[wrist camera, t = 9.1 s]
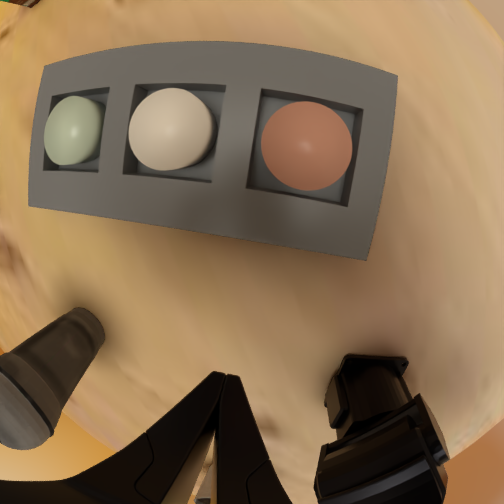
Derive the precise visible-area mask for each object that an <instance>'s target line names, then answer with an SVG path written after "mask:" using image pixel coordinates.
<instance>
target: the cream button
mask: <svg viewBox="0 0 504 504" xmlns="http://www.w3.org/2000/svg"><path fill="white" fill-rule="evenodd" d="M216 133H217V125H216V120H215V117H214V115H213V113H212V111H211V110H210V108H209V107H208V106H207V105H206V104H205V103H204V102H202V101H201V100H200V99H198V98H197V97H196V96H195V95H193V94H192V93H190V92H188V91H186V90H183V89H179V88H166V89H162V90H159V91H156V92H154V93H152V94H151V95H149V96H148V97H146V98H145V99H144V100H143V101H142V102H141V103H140V104H139V106H138V107H137V108H136V110H135V112H134V113H133V116H132V118H131V121H130V125H129V142H130V146H131V149H132V151H133V153H134V155H135V156H136V157H137V159H138V160H139V161H140V162H141V163H143V164H144V165H146V166H147V167H149V168H152V169H155V170H164V171H166V170H176V169H185V168H189V167H191V166H194V165H196V164H197V163H199V162H200V161H202V160H203V159H204V158H205V157H206V156H207V155H208V153H209V152H210V150H211V149H212V147H213V145H214V142H215V139H216Z"/></svg>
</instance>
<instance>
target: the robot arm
mask: <svg viewBox="0 0 504 504" xmlns="http://www.w3.org/2000/svg"><path fill="white" fill-rule="evenodd" d="M348 360H351V361H348ZM402 363H403V364H402ZM408 364H409V362H408V360H407V358H399V357H377V356H362V355H347V356H345V357H344V359H343V361H342V363H341V366H340V368H339V370H338V373H337V375H335V376H334V377H333V379H332V381H331V383H330V386H329V388H328V390H327V392H326V394H325V397H326V399H325V401H324V406H325V407H327V410H328V416H329V423H330V427H331V428H332V429H336V433H337V440H336V441H334V442H332V443H330V444H329V443H327V444H325V445H322V446H321V451H320V456H319V461H318V466H317V471H316V476H315V481H314V491H315V494H316V497H317V499H318V504H443V501H444V498H445V494H446V488H447V481H448V476H447V473H446V471H445V468H444V466H443V464H444V463H445V462H447V461H448V460H450V457H449V453H448V450H447V446H446V443H445V439H444V436H443V433H442V431H441V429H440V427H439V425H438V423H437V421H436V419H435V417H434V415H433V413H432V412H431V410H430V408H429V407H428V405H427V404H426V402H425V401H424V399H423V398H422V396H421V394H420V393H419V394H418V395H416V396H415V397H414V398H412V396H411V394H410V392H409V390H408V387H407V385H406V383H405V381H404V379H403V377H402V375H403V373H404V371H405V370H406V368H407V366H408ZM214 433H215V436H214ZM213 436H214V448H213V464H212V481H211V501H210V504H292V502H291V500H290V499H289V497H288V495H287V494H286V492H285V490H284V488H283V487H282V485H281V483H280V481H279V479H278V477H277V474H276V472H275V470H274V468H273V465H272V463H271V460H269V455H268V453H267V450H266V448H265V445H264V442H263V440H262V437H261V434H260V432H259V429H258V426H257V424H256V421H255V418H254V416H253V413H252V410H251V407H250V404H249V402H248V399H247V396H246V393H245V390H244V387H243V384H242V382H241V379H240V377H239V376H237V375H232V374H227V375H226V374H225V373H222V372H217V371H213V372H211V373H210V374H209V375H208V376H207V377H206V378H205V379H204V380H203V381H202V382H201V383H199V384H198V385H197V386H196V387H195V388H194V389H193V390H192V391H191V392H190V393H189V394H187V395H186V396H185V397H184V398H183V399H182V400H181V401H180V402H179V403H177V404H176V405H175V406H174V407H173V408H172V409H171V410H170V411H168V412H167V413H166V414H165V415H164V416H163V417H162V418H160V419H159V420H158V421H157V422H156V423H155V424H153V425H152V426H151V427H150V428H149V429H147V430H146V433H145V432H144V433H143V434H141V435H140V436H139V437H138V438H137V439H135V440H134V441H133V442H131V443H130V444H129V445H127V446H126V447H125V448H123V449H122V450H120V451H119V452H117V453H115V454H114V455H112V456H111V457H109V458H107V459H105V460H104V461H102V462H100V463H98V464H97V465H95V466H93V467H91V468H89V469H87V470H85V471H83V472H81V473H80V474H77V475H75V476H73V477H70V478H67V479H63V480H56V481H6V480H0V504H187V503H188V500H189V498H190V496H191V493H192V491H193V488H194V486H195V483H196V481H197V478H198V476H199V473H200V470H201V468H202V465H203V463H204V460H205V458H206V455H207V453H208V450H209V447H210V445H211V442H212V439H213Z"/></svg>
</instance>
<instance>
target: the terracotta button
mask: <svg viewBox="0 0 504 504" xmlns="http://www.w3.org/2000/svg"><path fill="white" fill-rule="evenodd" d="M261 150H262V155H263V158H264V161H265V163H266V165H267V167H268V169H269V170H270V171H271V173H272V174H273V175H274V176H275V177H276V178H277V179H278V180H280V181H281V182H282V183H284V184H286V185H288V186H290V187H292V188H295V189H299V190H306V191H308V190H319V189H322V188H325V187H327V186H330V185H331V184H333V183H334V182H336V181H337V180H338V179H339V178H340V177H341V176H342V175H343V174H344V172H345V171H346V169H347V168H348V166H349V163H350V160H351V156H352V140H351V136H350V132H349V130H348V128H347V126H346V124H345V123H344V121H343V120H342V119H341V118H340V116H338V115H337V114H336V113H335V112H334V111H333V110H331V109H330V108H328V107H326V106H324V105H321V104H318V103H315V102H308V101H302V102H295V103H291V104H288V105H286V106H284V107H282V108H280V109H279V110H278V111H276V112H275V113H274V114H273V115H272V116H271V117H270V119H269V120H268V121H267V123H266V125H265V127H264V130H263V133H262V138H261Z"/></svg>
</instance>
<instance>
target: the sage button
mask: <svg viewBox="0 0 504 504" xmlns="http://www.w3.org/2000/svg"><path fill="white" fill-rule="evenodd" d="M105 112H106V107H105V106H104V105H103V104H102V103H101V102H98V101H95V100H91V99H87V98H83V97H79V96H70V97H67V98H65V99H63V100H62V101H60V102H59V103H58V104H57V105H56V106H55V107H54V109H53V110H52V112H51V113H50V115H49V117H48V120H47V122H46V126H45V131H44V145H45V149H46V152H47V154H48V156H49V158H50V159H51V160H52V161H53V162H54V163H56V164H59V165H69V164H80V163H88V162H90V161H92V160H94V159H95V158H97V157H98V156H99V155H100V149H101V140H102V132H103V125H104V118H105Z"/></svg>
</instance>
